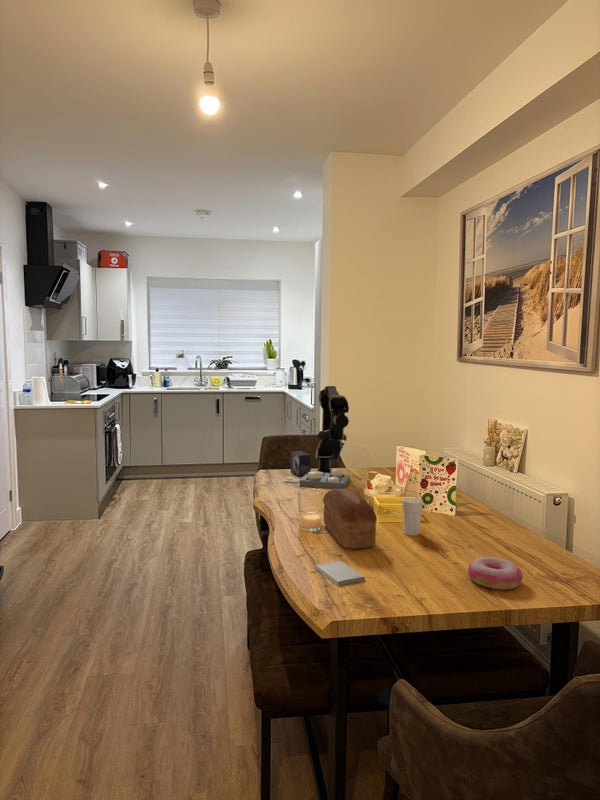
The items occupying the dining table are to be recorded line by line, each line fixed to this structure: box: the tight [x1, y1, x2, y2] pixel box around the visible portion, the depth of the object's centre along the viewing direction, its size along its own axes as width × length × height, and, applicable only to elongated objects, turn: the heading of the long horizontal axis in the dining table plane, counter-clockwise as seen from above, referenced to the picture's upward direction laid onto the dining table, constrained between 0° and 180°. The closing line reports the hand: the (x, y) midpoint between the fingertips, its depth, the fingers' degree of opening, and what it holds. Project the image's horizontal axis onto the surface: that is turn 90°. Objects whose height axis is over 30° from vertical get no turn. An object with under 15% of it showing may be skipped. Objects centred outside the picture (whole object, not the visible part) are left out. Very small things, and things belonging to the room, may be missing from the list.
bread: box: [322, 487, 378, 550], centre depth 177 cm, size 12×28×14 cm, turn 12°
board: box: [283, 472, 351, 489], centre depth 251 cm, size 18×28×2 cm, turn 77°
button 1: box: [308, 471, 320, 481], centre depth 246 cm, size 5×5×3 cm
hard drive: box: [315, 560, 366, 586], centre depth 147 cm, size 2×8×12 cm
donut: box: [467, 556, 523, 591], centre depth 144 cm, size 14×13×5 cm
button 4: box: [330, 468, 343, 478], centre depth 253 cm, size 5×5×3 cm
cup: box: [401, 497, 424, 536], centre depth 181 cm, size 7×7×11 cm
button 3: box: [328, 477, 339, 482], centre depth 244 cm, size 5×5×3 cm
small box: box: [290, 450, 311, 478], centre depth 266 cm, size 11×6×10 cm, turn 25°
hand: (336, 459), depth 246 cm, fingers closed
